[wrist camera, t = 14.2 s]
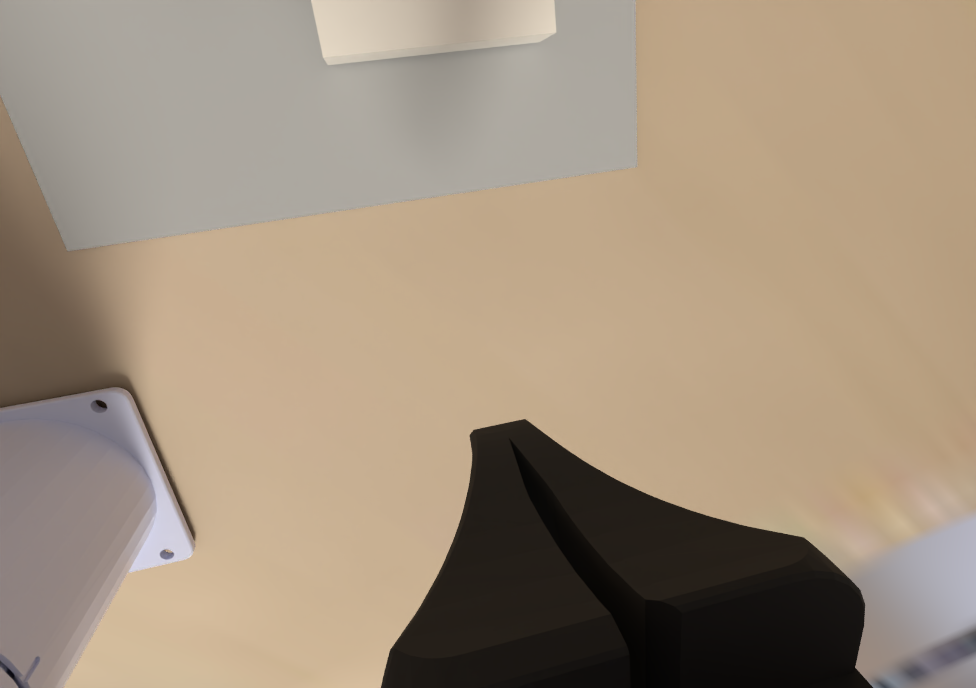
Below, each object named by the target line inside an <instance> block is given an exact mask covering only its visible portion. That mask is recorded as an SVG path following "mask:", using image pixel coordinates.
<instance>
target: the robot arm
mask: <svg viewBox="0 0 976 688" xmlns="http://www.w3.org/2000/svg"><path fill="white" fill-rule="evenodd" d="M96 400H101V401H103V402H105V403H106V405H107V408H102V407H100V406H98V405H97V403H96ZM470 441H471V447H472V454H473V455H472V468H471V476H470V483H469V488H468V492H467V497H466V501H465V505H464V509H463V513H462V516H461V520H460V523H459V526H458V529H457V532H456V534H455V537H454V540H453V542H452V545H451V547H450V550H449V552H448V554H447V557H446V559H445V561H444V563H443V566H442V568H441V570H440V572H439V574H438V576H437V578H436V579H435V581H434V583H433V585H432V587H431V588H430V590H429V592H428V594H427V595H426V597H425V599H424V601H423V603H422V604H421V606H420V608H419V609H418V611H417V612H416V614H415V616H414V617H413V618H412V620H411V621H410V623H409V624H408V626H407V627H406V628H405V630H404V631H403V633H402V634H401V636H400V637H399V638H398V640H397V641H396V643H395V644H394V646H393V647H392V648H391V650H390V653H389V657H388V660H387V664H386V668H385V672H384V677H383V681H382V686H381V688H873V687H872V686H871V685H870V684H869V683H868V681H867V680H866V679H865V678H864V677H863V676H862V675H861V674H860V673H859V672H858V670H857V669H856V668H855V665H856V660H857V656H858V651H859V646H860V641H861V637H862V632H863V628H864V615H865V614H864V613H865V603H864V600H863V597H862V594H861V591H860V589H859V588H858V587H857V586H856V585H855V584H854V583H853V582H852V581H851V580H850V579H849V578H848V577H847V576H846V575H845V574H844V573H843V572H842V571H841V570H840V569H839V568H838V567H837V566H836V565H835V564H834V563H832V562H831V561H830V560H829V559H828V558H827V557H826V556H825V555H824V554H823V553H822V552H820V551H819V550H818V549H817V548H816V547H815V546H814V545H812V544H811V543H810V542H809V541H807V540H806V539H805V538H803V537H798V536H793V535H788V534H783V533H778V532H773V531H768V530H762V529H757V528H752V527H747V526H743V525H739V524H736V523H732V522H728V521H724V520H721V519H717V518H713V517H710V516H706V515H703V514H700V513H697V512H693V511H690V510H687V509H685V508H682V507H679V506H676V505H674V504H671V503H668V502H665V501H663V500H660V499H658V498H655V497H653V496H650V495H648V494H646V493H643V492H641V491H639V490H637V489H635V488H633V487H630V486H628V485H626V484H624V483H622V482H620V481H618V480H616V479H614V478H612V477H610V476H608V475H607V474H605V473H603V472H601V471H600V470H598V469H596V468H595V467H593V466H591V465H589V464H588V463H586V462H585V461H583V460H581V459H580V458H578V457H577V456H575V455H574V454H572V453H571V452H569V451H568V450H566V449H565V448H564V447H562V446H561V445H559V444H558V443H557V442H555V441H554V440H552V439H551V438H550V437H548V436H547V435H546V434H544V433H543V432H542V431H540V430H539V429H538V428H536V427H535V426H534V425H532V424H531V423H530V422H528V421H527V420H526V419H523V420H518V421H514V422H509V423H504V424H500V425H495V426H490V427H486V428H481V429H476V430H473V432H472V433H471V434H470ZM164 549H169V550H171V551H172V552H173V553H168V552H166V551H165V550H164ZM194 549H195V542H194V539H193V537H192V535H191V532H190V530H189V528H188V525H187V523H186V521H185V518H184V516H183V514H182V511H181V509H180V507H179V504H178V502H177V500H176V497H175V495H174V493H173V490H172V488H171V486H170V483H169V481H168V479H167V476H166V474H165V472H164V469H163V467H162V465H161V462H160V460H159V458H158V455H157V453H156V451H155V448H154V446H153V444H152V441H151V439H150V437H149V434H148V432H147V430H146V427H145V425H144V423H143V420H142V418H141V416H140V413H139V411H138V409H137V406H136V404H135V402H134V399H133V397H132V395H131V394H130V393H129V392H128V391H127V390H125V389H123V388H119V387H112V388H107V389H101V390H96V391H90V392H85V393H79V394H74V395H69V396H63V397H58V398H52V399H47V400H41V401H36V402H30V403H25V404H19V405H14V406H8V407H3V408H0V688H64V686H65V684H66V682H67V681H68V679H69V677H70V675H71V673H72V672H73V670H74V668H75V666H76V664H77V663H78V661H79V659H80V657H81V656H82V654H83V652H84V650H85V648H86V647H87V645H88V643H89V641H90V640H91V638H92V636H93V634H94V632H95V631H96V629H97V627H98V625H99V623H100V622H101V620H102V618H103V616H104V615H105V613H106V611H107V609H108V607H109V606H110V604H111V602H112V600H113V598H114V597H115V595H116V593H117V591H118V590H119V588H120V586H121V584H122V582H123V581H124V579H125V577H126V575H127V574H128V573H129V572H134V571H138V570H142V569H147V568H151V567H155V566H160V565H164V564H169V563H173V562H177V561H182V560H185V559H188V558H189V557H190V556H192V554H193V551H194Z"/></svg>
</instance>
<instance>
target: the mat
mask: <svg viewBox="0 0 976 688" xmlns="http://www.w3.org/2000/svg"><path fill="white" fill-rule="evenodd" d="M554 2H555V18H556V33H555V34H553V35H551V36H549V37H548V38H546V39H544V40H542V41H541V42H536V43H527V44H518V45H509V46H500V47H491V48H482V49H472V50H463V51H454V52H445V53H436V54H427V55H418V56H408V57H399V58H390V59H381V60H372V61H363V62H354V63H345V64H335V65H327V63H326V61H325V60H324V58H323V55H322V50H321V45H320V41H319V36H318V31H317V26H316V22H315V17H314V12H313V8H312V3H311V0H0V96H1V98H2V100H3V103H4V105H5V107H6V110H7V112H8V114H9V117H10V119H11V121H12V124H13V126H14V128H15V131H16V133H17V135H18V138H19V140H20V142H21V145H22V147H23V149H24V152H25V154H26V156H27V159H28V161H29V163H30V166H31V168H32V170H33V173H34V175H35V177H36V180H37V182H38V184H39V187H40V189H41V191H42V193H43V196H44V198H45V200H46V203H47V205H48V207H49V210H50V212H51V214H52V217H53V219H54V221H55V224H56V226H57V228H58V231H59V233H60V235H61V238H62V240H63V242H64V245H65V247H66V249H67V251H74V250H81V249H87V248H94V247H101V246H108V245H114V244H121V243H128V242H135V241H141V240H148V239H155V238H162V237H168V236H175V235H182V234H189V233H195V232H202V231H209V230H216V229H222V228H229V227H236V226H243V225H249V224H256V223H263V222H270V221H276V220H283V219H290V218H297V217H303V216H310V215H317V214H324V213H330V212H337V211H344V210H351V209H357V208H364V207H371V206H378V205H384V204H391V203H398V202H405V201H412V200H418V199H425V198H432V197H439V196H445V195H452V194H459V193H466V192H472V191H479V190H486V189H493V188H499V187H506V186H513V185H520V184H526V183H533V182H540V181H547V180H553V179H560V178H567V177H574V176H580V175H587V174H594V173H601V172H607V171H614V170H621V169H628V168H634V167H637V99H636V6H635V0H554Z"/></svg>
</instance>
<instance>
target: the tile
mask: <svg viewBox="0 0 976 688" xmlns="http://www.w3.org/2000/svg"><path fill="white" fill-rule="evenodd" d="M311 3H312V8H313V12H314V17H315V22H316V26H317V31H318V36H319V41H320V45H321V50H322V55H323V58H324V60H325V61H326V63H327V65H335V64H345V63H354V62H363V61H372V60H381V59H390V58H399V57H408V56H418V55H427V54H436V53H445V52H454V51H463V50H472V49H482V48H491V47H500V46H509V45H518V44H527V43H536V42H541V41H542V40H544V39H546V38H548V37H549V36H551V35H553V34H555V33H556V18H555V2H554V0H311Z"/></svg>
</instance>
